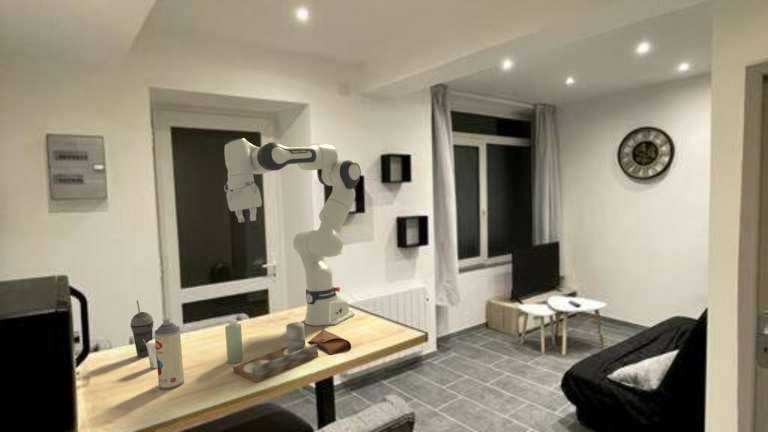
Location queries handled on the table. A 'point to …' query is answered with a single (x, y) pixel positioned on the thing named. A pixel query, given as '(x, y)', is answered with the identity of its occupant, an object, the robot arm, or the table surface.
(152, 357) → the milkshake
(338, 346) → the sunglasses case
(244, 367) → the rail stand
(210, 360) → the table surface
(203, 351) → the table surface
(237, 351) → the slim bottle
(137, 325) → the beverage cup
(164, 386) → the aerosol can
